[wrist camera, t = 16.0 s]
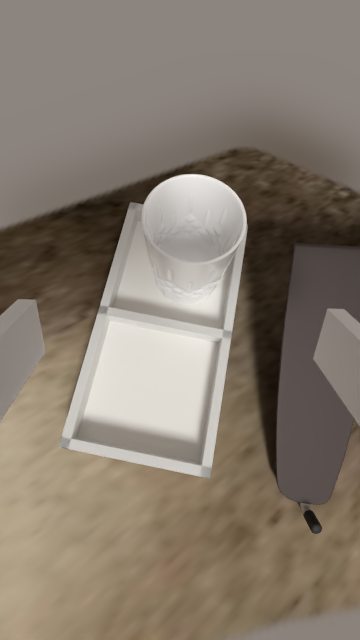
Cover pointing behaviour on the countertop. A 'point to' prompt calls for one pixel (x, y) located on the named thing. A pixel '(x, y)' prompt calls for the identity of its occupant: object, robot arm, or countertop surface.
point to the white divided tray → (153, 366)
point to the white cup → (191, 234)
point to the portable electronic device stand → (313, 377)
